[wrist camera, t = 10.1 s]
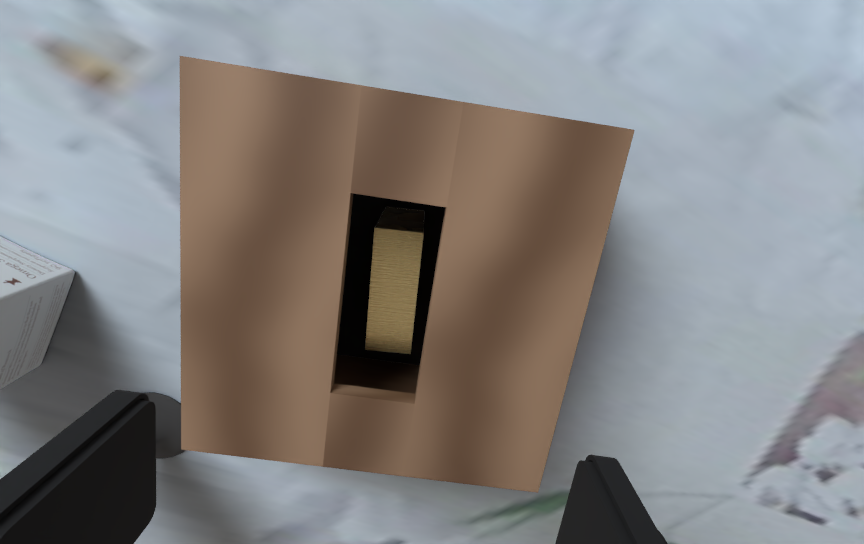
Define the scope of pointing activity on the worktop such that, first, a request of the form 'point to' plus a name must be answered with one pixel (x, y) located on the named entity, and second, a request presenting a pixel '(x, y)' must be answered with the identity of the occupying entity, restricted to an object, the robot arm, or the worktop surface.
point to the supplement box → (28, 308)
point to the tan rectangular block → (394, 280)
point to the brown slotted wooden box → (326, 264)
